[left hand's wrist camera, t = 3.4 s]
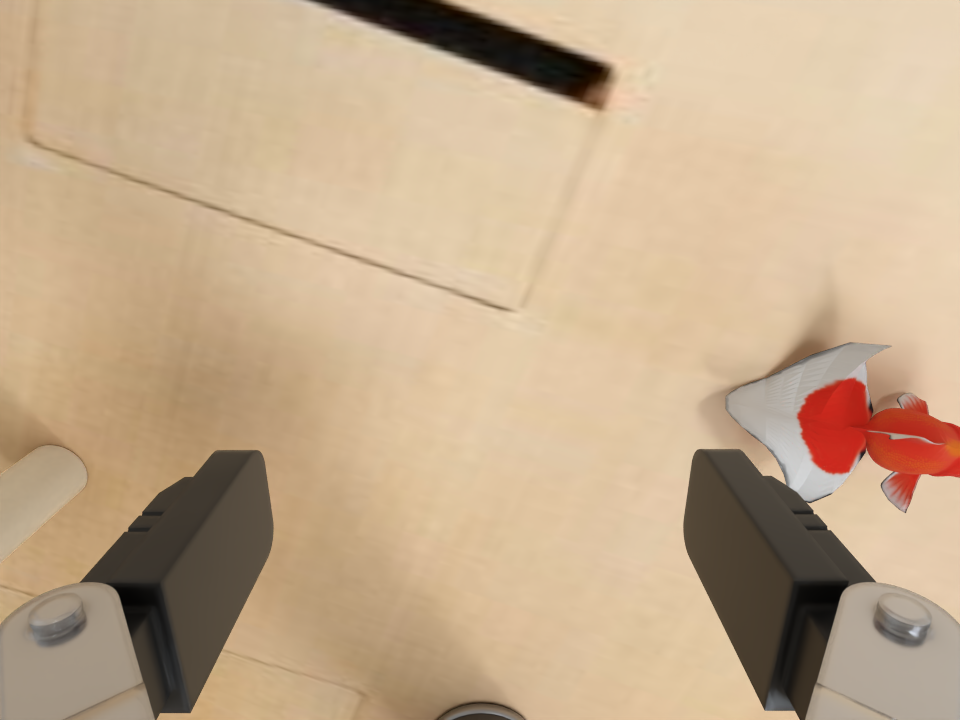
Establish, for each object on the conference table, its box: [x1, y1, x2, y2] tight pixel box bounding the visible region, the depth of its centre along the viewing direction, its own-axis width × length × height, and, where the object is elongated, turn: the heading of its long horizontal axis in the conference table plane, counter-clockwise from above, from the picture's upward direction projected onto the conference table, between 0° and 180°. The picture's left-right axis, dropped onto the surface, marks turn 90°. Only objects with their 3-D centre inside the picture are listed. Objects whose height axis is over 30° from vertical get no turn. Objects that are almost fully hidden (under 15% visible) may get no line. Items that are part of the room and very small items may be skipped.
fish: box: [726, 343, 960, 513], centre depth 39 cm, size 11×16×10 cm
